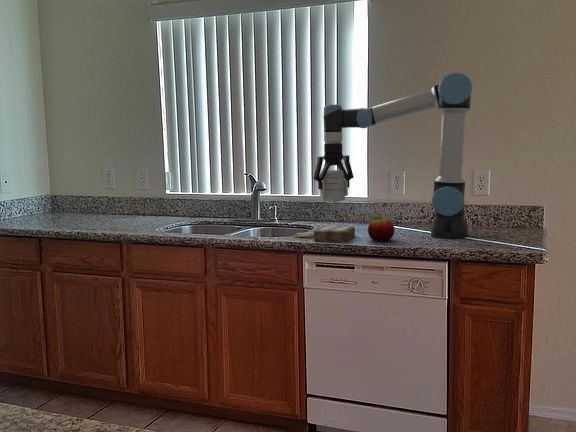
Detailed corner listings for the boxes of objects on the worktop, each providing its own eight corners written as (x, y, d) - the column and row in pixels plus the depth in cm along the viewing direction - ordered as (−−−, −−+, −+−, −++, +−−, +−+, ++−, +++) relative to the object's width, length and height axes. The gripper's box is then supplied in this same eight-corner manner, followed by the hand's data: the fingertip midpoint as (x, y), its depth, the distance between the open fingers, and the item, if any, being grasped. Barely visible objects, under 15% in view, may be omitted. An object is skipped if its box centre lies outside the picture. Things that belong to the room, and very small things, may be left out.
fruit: (388, 243, 217) (388, 218, 216) (363, 241, 223) (363, 217, 222) (398, 239, 226) (398, 215, 225) (373, 237, 232) (373, 214, 231)
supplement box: (329, 199, 236) (328, 169, 234) (345, 199, 232) (345, 169, 231) (322, 201, 229) (322, 171, 227) (339, 201, 226) (338, 170, 224)
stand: (354, 236, 237) (354, 226, 236) (347, 242, 224) (347, 231, 223) (323, 235, 241) (323, 225, 241) (314, 241, 228) (313, 230, 228)
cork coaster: (321, 236, 238) (321, 234, 238) (300, 238, 234) (300, 237, 234) (311, 233, 247) (311, 231, 247) (291, 235, 244) (291, 233, 243)
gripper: (353, 142, 235) (353, 194, 238) (304, 143, 227) (305, 197, 230) (361, 141, 228) (362, 195, 231) (311, 143, 220) (313, 198, 223)
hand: (334, 196), depth 231 cm, fingers closed on supplement box, 10 cm apart
